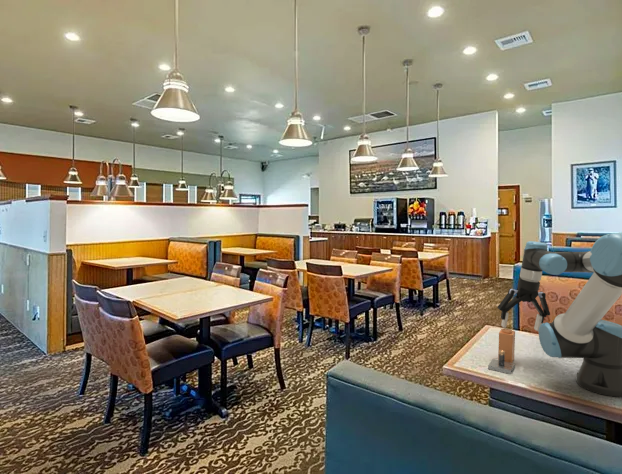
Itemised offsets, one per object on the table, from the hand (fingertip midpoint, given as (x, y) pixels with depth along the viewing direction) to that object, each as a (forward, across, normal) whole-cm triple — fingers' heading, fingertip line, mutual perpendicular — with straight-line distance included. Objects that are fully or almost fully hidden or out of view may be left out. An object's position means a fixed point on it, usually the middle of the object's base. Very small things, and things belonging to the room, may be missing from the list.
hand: (520, 328), depth 157 cm
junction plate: (+13, +11, +12) cm, 20 cm away
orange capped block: (+13, +5, +4) cm, 14 cm away
